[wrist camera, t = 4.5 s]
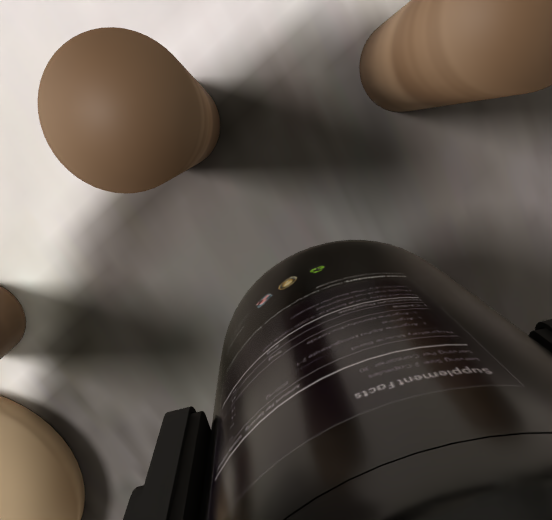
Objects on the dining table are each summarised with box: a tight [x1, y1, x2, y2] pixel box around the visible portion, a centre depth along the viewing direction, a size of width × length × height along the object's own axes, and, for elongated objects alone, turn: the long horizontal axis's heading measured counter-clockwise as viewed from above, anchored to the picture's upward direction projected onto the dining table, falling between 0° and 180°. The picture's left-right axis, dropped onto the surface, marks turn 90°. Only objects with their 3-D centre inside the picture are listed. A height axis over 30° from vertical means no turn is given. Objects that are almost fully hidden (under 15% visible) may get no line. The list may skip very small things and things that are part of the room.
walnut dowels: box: [0, 0, 552, 359], centre depth 14 cm, size 21×21×7 cm
